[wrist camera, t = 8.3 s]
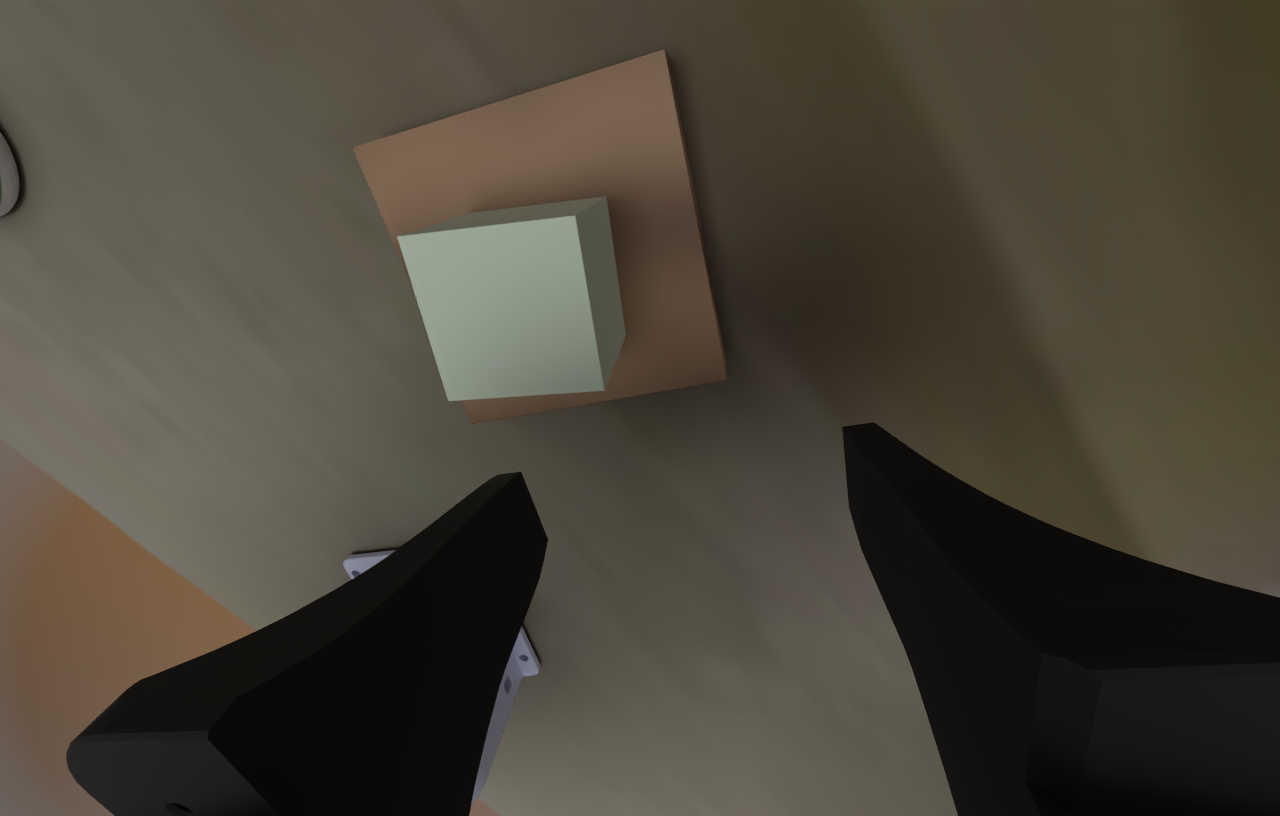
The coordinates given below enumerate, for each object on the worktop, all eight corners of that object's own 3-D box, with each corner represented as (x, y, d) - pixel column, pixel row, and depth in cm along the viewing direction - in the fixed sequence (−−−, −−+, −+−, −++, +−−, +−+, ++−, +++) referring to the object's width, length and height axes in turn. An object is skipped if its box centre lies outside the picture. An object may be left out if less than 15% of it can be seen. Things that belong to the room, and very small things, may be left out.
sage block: (625, 335, 18) (604, 390, 14) (502, 345, 19) (448, 400, 15) (606, 196, 16) (574, 215, 12) (469, 213, 17) (397, 236, 13)
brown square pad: (725, 354, 21) (727, 380, 19) (495, 396, 23) (472, 424, 21) (670, 60, 17) (663, 49, 14) (394, 146, 19) (352, 147, 17)
